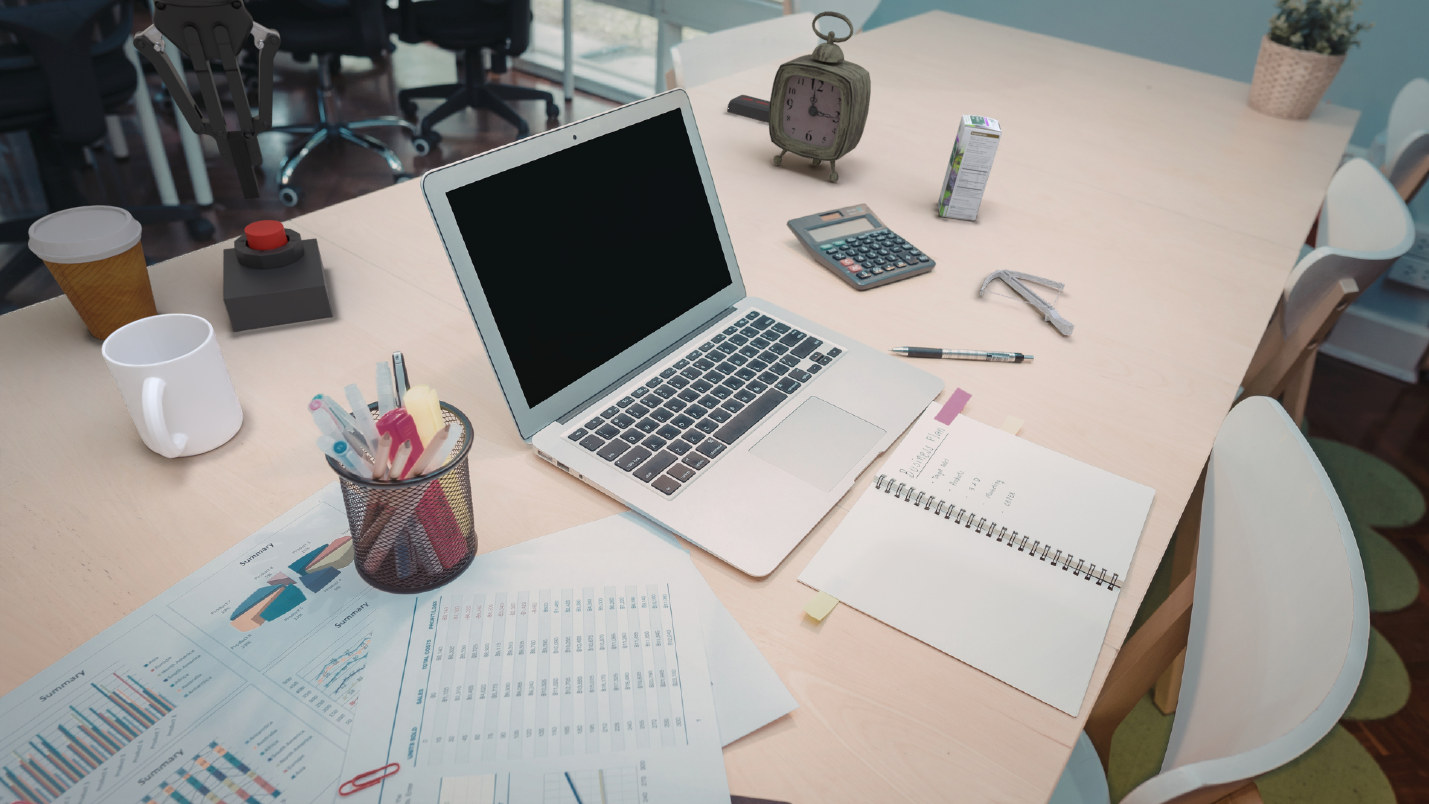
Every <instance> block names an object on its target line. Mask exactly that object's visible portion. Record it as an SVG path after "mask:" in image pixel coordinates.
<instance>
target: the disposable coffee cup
mask: <svg viewBox="0 0 1429 804" xmlns="http://www.w3.org/2000/svg"><path fill="white" fill-rule="evenodd" d="M28 228H29V229H28V237H29V239H28V241H27V242H28V243H27V245H28V246H27V247H28V249H29V250H30V251H31V252H33V254H34V255H36V256H37V257H38V258H39V259H41V260H42V261H43V264H44V265H45V266H46V268H47V270H49V273H50V274H51V275H52V277H53V278H54V280H55V282H57V285H58V286H59V287H60V288H61V290H62V291H63V293H64V295H65V296H66V298H67V299H68V301H69V302H70V303H71V305H72V306H73V309H74V310H75V311H76V312H77V315H78V316H79V317H80V319H81V321H83V323H84V324H85V326H86V327H87V329H88V331H89V332H90V334H91V335H92V336H93V337H94V338H96V339H99V340H102V341H105V340H106V339H107V338H108V337H109V336H110V335H111V334H112V333H113V332H115V331H116V330H118V329H119V328H121V327H123V326H125V325H127V324H129V323H132V322H134V321H137V320H140V319H144V318H147V317H152V316H156V315H159V314H158V311H157V305H156V301H155V298H154V293H153V288H152V284H151V279H150V276H149V271H148V266H147V262H146V258H145V253H144V248H143V245H142V241H141V238H142V230H143V227H142V224H141V223H140V222H139V221H138V220H137V219H135V218H134V217H133V216H132V214H131V213H130V212H129V211H128V210H127V209H125V208H122V207H117V206H113V205H99V204H98V205H84V206H83V205H82V206H78V207H71V208H66V209H63V210H59V211H56V212H53V213H50V214H48V215H47V214H46V215H45V216H43V217H41V218H39V219H37V220H36V221H34V222H33V223H32V224H31V225H30V227H28Z"/></svg>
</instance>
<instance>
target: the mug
mask: <svg viewBox="0 0 1429 804" xmlns="http://www.w3.org/2000/svg"><path fill="white" fill-rule="evenodd" d="M101 355H102V357H103V359H104V362H105V364H106V365H107V368H108V370H109V372H110V373H111V376H112V378H113V381H114V383H115V385H116V388H117V390H118V392H119V393H120V396H121V398H122V400H123V402H124V404H125V406H126V409H127V411H128V413H129V415H130V417H131V420H132V421H133V423H134V425H135V428H136V430H137V432H138V434H139V437H140V438H141V440H142V441H143V443H144V444H145V445H146V447H147V448H148V449H149V450H151V451H153V452H154V453H156V454H159V455H161V456H162V457H165V458H168V459H173V458H174V459H175V458H177V457H178V458H179V457H181V458H182V457H183V458H184V457H192V456H197V455H201V454H204V453H208V452H211V451H213V450H215V449H217V448H219V447H220V446H223V445H224V444H226V443H227V442H229V441H230V440H231V439H232V438H234V436H236V435H237V433H238V432H239V431H240V429H241V427H242V424H243V422H244V421H243V420H244V414H243V409H242V406H241V403H240V399H239V397H238V394H237V391H236V389H235V386H234V383H233V379H232V377H231V374H230V372H229V369H228V366H227V363H226V361H225V358H224V355H223V353H222V349H221V346H220V344H219V341H218V338H217V335H216V331H215V329H214V327H213V325H212V324H211V322H209V320H207V319H205V318H204V317H201V316H200V315H195V314H191V313H165V314H163V313H162V314H158V315H156V316H152V317H147V318H144V319H140V320H137V321H134V322H132V323H129V324H127V325H125V326H123V327H121V328H119V329H118V330H116V331H115V332H113V333H112V334H111V335H110V336H109V337H108V338H107V339H106V340H103V343H102V345H101Z"/></svg>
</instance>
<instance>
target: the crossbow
mask: <svg viewBox="0 0 1429 804" xmlns="http://www.w3.org/2000/svg"><path fill="white" fill-rule="evenodd" d="M997 278H999V279H1001V280H1002V281H1004V282H1005V283H1006V284H1007V285H1009V286H1010V287H1011V288H1012V289H1013V290H1015V291H1016V292H1017V293H1019V294H1020V295H1021V296H1022V297H1023V298H1024V299H1026V300H1027V301H1025V300H1022V299H1019V298H1015V297H1011V296H1009V295H1004V294H1000V293H996V292H993V291H989V290H985V289H986V287H987V286H988V284H989V283H990V282H991V281H992V280H994V279H997ZM1019 279H1023V280H1027V281H1031V282H1035V283H1038V284H1041V285H1046V286H1049V287H1052V288H1054V289H1057V290H1058V289H1059V291H1058V293H1057V296H1056V298H1055V300H1054V302H1053V303H1052V304H1051V303H1050V302H1048V301H1047V300H1045V298H1042V297H1041V296H1040V295H1039V294H1037V293H1036V292H1035V291H1033V290H1032V288H1029V287H1028V286H1027V285H1026V284H1025V283H1024V282H1022V281H1020V280H1019ZM1065 286H1066V284H1065V283H1063V282H1058V281H1055V280H1052V279H1049V278H1045V277H1042V276H1038V275H1034V274H1030V273H1026V272H1021V271H1018V270H1010V269H1006V268H1005V269H1000V270H999V269H997V270H995V271H993V272H991V273H990V274H989V275H988V276H987V277H986V279H985V280H984V282H983V284H982V288H980V291H979V296H983V294H984V292H986V293H987V292H988V293H991V294H995V295H998V296H1001V297H1004V298H1009V299H1012V300H1017V301H1020V302H1023V303H1026V304H1031V305H1033V306H1034V307H1036V308H1037V309H1038V310H1040V311H1041V312H1042V313H1043V314H1045V315H1044V322H1051V324H1053V325H1054V327H1055V328H1056V329H1057V330H1058V331H1059V332H1060V333H1061V334H1062V335H1063V336H1069V335H1070V336H1071V335H1072V334H1073V332H1074V328H1075V324H1074V323H1072V322H1070V321H1068V320H1067V319H1065V318H1064V317H1062V316H1061V315H1060V313H1059V311H1058V310H1057V309H1056V308H1054V305H1055V303H1056V301H1057V299H1058V297H1059V295H1060V293H1061V291H1062V290H1064V288H1065Z"/></svg>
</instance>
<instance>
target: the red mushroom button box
mask: <svg viewBox="0 0 1429 804" xmlns="http://www.w3.org/2000/svg"><path fill="white" fill-rule="evenodd" d="M284 230H285V234H286V237H287V241H288V243H286V244H285V245H284V246H281V247H278V248H276V249H270V250H254V249H251V248H250V247H249V244H248V241H247V237H246V234H245V233H242V234H241V235H240V236H239V237H238V238H236V239H235V240H234V241H233V247H231V248H223V249H222V250H223V252H222V253H223V255H222V260H223V261H222V262H223V263H222V267H223V268H222V300H223V303H224V307H225V309H226V312H227V315H228V318H229V321H230V323H231V326H232V329H233V333H237V332H245V331H253V330H257V329H258V330H259V329H265V328H270V327H277V326H284V325H289V324H297V323H304V322H310V321H317V320H323V319H330V318H333V317H334V316H333V310H332V305H331V300H330V299H331V298H330V294H329V289H328V283H327V279H326V278H327V277H326V273H325V268H324V264H323V261H322V260H323V259H322V255H321V250H320V247H319V243H318V239H317V238H316V237H315V238H307V239H302V236H301V233H299V232H298V231H296V230H294V229H292V228H285V227H284Z"/></svg>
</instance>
